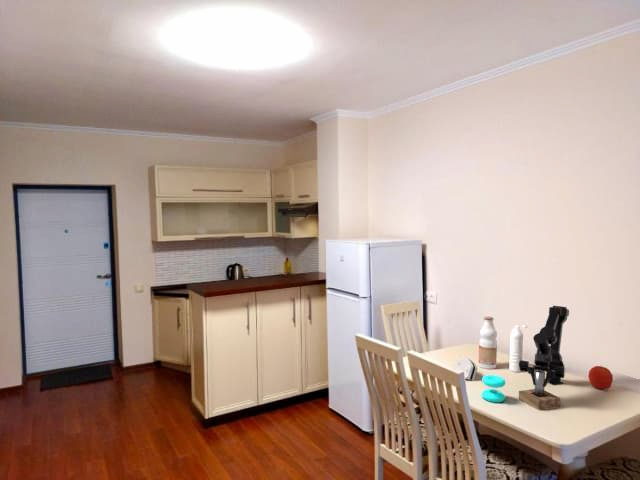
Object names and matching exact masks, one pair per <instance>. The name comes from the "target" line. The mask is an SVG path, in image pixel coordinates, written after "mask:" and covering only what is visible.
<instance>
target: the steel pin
mask: <svg viewBox="0 0 640 480" xmlns="http://www.w3.org/2000/svg"><path fill="white" fill-rule="evenodd" d="M545 378H546V371H540V370H535V385H534V389H535V391H534V395H535V396H537V397H544V390H545V387H544V382H545Z"/></svg>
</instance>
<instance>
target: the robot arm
mask: <svg viewBox="0 0 640 480" xmlns="http://www.w3.org/2000/svg"><path fill="white" fill-rule="evenodd" d="M569 315H570V309H568V307H567V306H560V305H559V306H558V305H552V306H551V307H550V306H549V308H548V316H547V319H546V321H545V322H546V323H545V324H544V326H543V327H541V328H540V330H539V332H537V333H536V334H535V335H534V336H533V342H534V345H535V347H536V353H534V364H533V363H530V362H529V361H528V360H523V359H522V360H520V361H519V369H520V370H521V372H527V373H528V374H529V375H530V376H531V380H532V384H533V386H535V371H537V370H538V371H543V372H545V382H544V388H546V386H547V385H548V384H550V385H561V384H562V385H563V384H564V382H563V381H562V379H564V378H565V372H566V371H565V369H566V368H565V364H564V361H563V357H562V355H561V353H560V352H561V344H562V343H561V342H562V334H563V328H564V327H563V325H564V324H565V323H566V321H567V320H568V317H569Z"/></svg>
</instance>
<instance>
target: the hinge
mask: <svg viewBox="0 0 640 480" xmlns="http://www.w3.org/2000/svg"><path fill="white" fill-rule="evenodd" d="M453 369H456V370H459V371H464V373H465V378H466V380H469V381H470V380H471V381H472V382H474V381H475V379H476V375H477V371H478V365H477V364H476V363H475V362H474V361H473V360H472V359H470V358H468V357H463V356H462V357H459V359H458V361H457V363H456V365H455V366H453V368H452V370H453Z"/></svg>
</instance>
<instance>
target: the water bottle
mask: <svg viewBox="0 0 640 480" xmlns="http://www.w3.org/2000/svg"><path fill="white" fill-rule="evenodd" d="M521 327H522V328H523V329H526V328H528V325H527V324H526V325H525V324H522V325H521ZM523 344H524V334H523V332H522V330H521V329H520V325H518V324H517V325H514V328H512V330H511V332H510V333H509V359H508V361H509V363H508V364H509V365H508V370H509V371H511V372H513V373H521V372H522V371H521V370H520V369H519V361H520V360H523V350H524V349H523V347H524V345H523Z"/></svg>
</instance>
